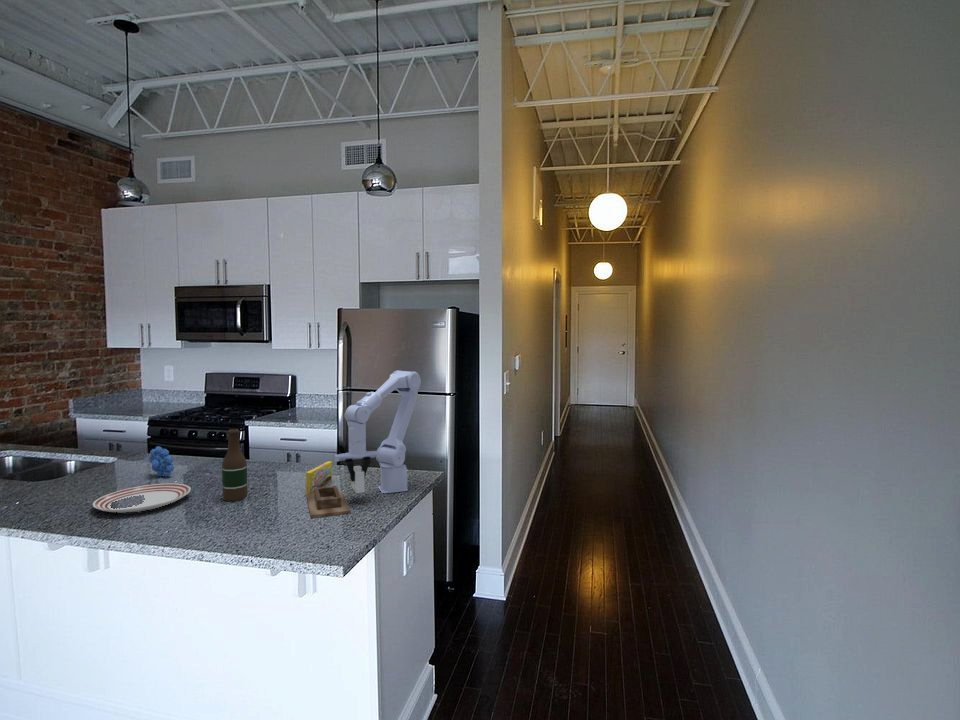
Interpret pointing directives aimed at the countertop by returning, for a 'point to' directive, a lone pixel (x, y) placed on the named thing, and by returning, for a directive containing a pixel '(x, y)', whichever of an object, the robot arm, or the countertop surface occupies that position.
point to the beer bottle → (234, 470)
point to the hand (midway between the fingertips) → (357, 479)
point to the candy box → (318, 477)
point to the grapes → (161, 461)
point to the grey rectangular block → (358, 480)
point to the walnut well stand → (327, 502)
